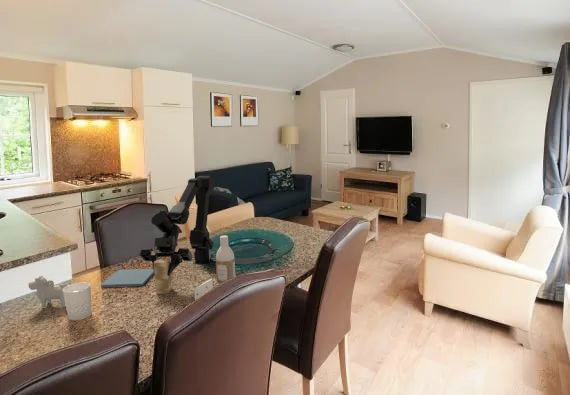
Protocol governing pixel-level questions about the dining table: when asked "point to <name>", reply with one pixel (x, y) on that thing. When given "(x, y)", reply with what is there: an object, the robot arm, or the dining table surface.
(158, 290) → the oak block
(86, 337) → the dining table surface
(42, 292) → the grey animal figurine
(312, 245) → the dining table surface
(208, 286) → the white angled block
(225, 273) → the bath foam
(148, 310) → the dining table surface
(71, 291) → the white cup
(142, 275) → the rubber mat
